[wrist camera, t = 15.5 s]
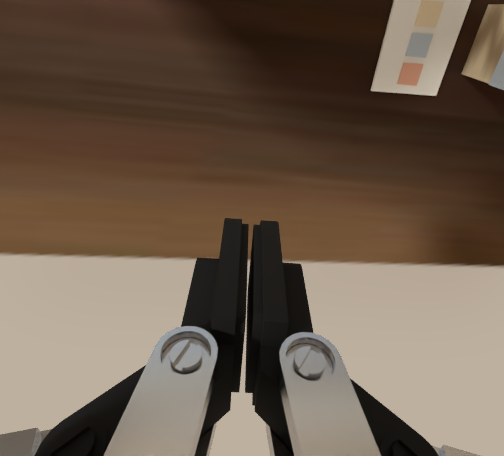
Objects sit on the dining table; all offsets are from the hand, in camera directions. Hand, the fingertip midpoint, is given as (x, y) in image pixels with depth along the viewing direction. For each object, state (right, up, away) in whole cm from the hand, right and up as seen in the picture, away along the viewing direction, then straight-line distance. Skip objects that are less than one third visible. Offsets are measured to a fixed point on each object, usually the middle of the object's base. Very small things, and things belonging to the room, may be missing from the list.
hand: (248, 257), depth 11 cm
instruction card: (+16, +19, +22) cm, 34 cm away
